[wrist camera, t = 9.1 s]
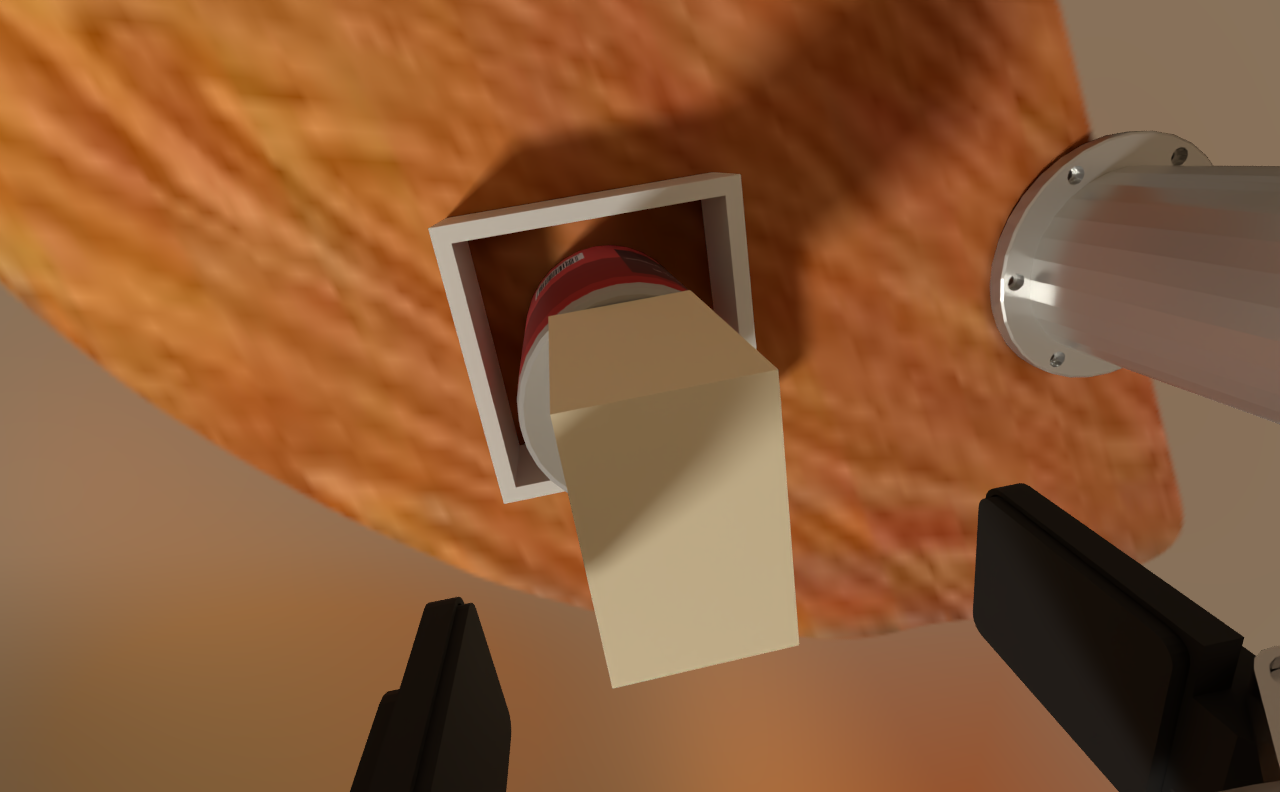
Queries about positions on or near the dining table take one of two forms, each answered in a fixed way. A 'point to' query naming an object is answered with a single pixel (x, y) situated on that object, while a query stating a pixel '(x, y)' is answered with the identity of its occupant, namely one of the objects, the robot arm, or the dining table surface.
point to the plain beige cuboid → (674, 484)
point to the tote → (453, 233)
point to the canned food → (569, 289)
